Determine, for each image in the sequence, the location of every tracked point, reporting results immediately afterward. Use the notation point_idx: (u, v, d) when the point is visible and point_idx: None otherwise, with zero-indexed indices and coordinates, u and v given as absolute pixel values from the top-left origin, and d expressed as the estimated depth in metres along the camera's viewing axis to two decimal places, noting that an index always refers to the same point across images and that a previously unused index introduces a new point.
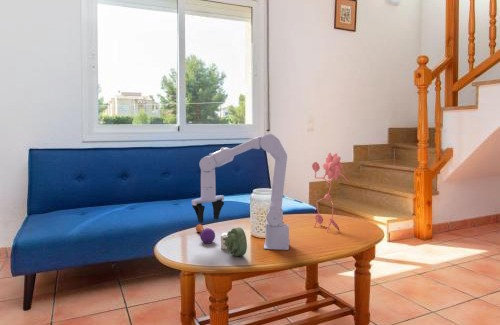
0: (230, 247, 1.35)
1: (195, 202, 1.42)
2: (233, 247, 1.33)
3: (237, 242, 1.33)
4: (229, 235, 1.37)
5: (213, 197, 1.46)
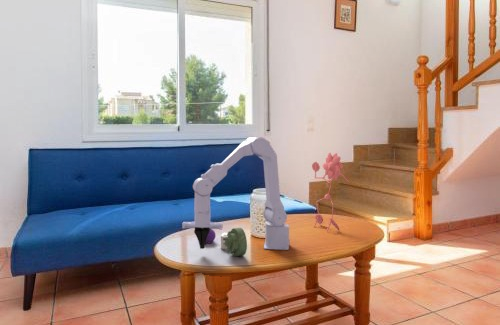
0: (230, 247, 1.35)
1: (183, 225, 1.36)
2: (233, 247, 1.33)
3: (237, 242, 1.33)
4: (229, 235, 1.37)
5: (201, 224, 1.33)
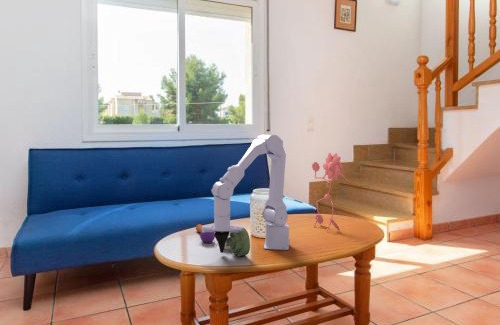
0: (233, 247, 1.35)
1: (203, 229, 1.35)
2: (236, 247, 1.33)
3: (240, 242, 1.33)
4: (232, 235, 1.37)
5: (222, 227, 1.33)
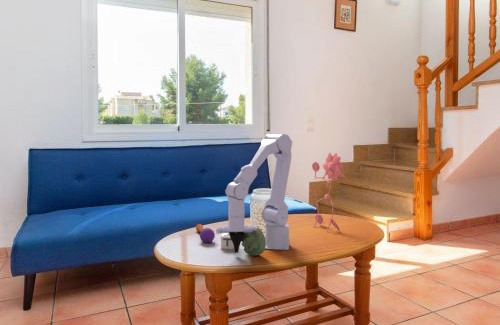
0: (248, 247, 1.35)
1: (217, 230, 1.34)
2: (252, 247, 1.34)
3: (256, 241, 1.33)
4: (245, 235, 1.37)
5: (238, 228, 1.33)
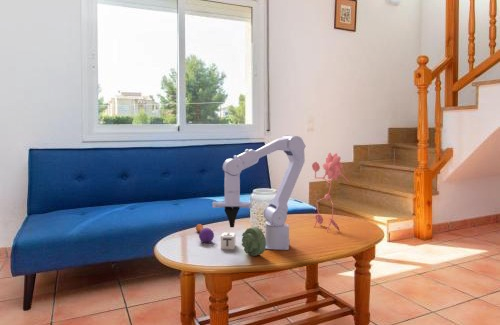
0: (248, 247, 1.35)
1: (213, 204, 1.40)
2: (252, 247, 1.34)
3: (257, 241, 1.33)
4: (246, 235, 1.37)
5: (232, 202, 1.37)
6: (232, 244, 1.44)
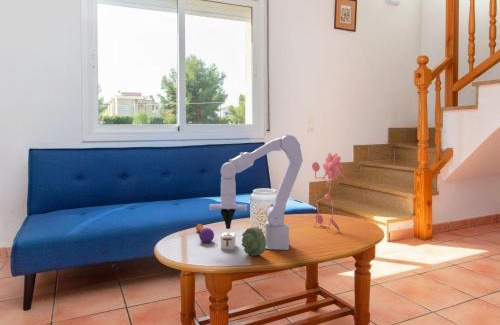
0: (248, 247, 1.35)
1: (210, 207, 1.45)
2: (252, 247, 1.34)
3: (257, 241, 1.33)
4: (246, 235, 1.36)
5: (228, 205, 1.42)
6: (232, 244, 1.44)
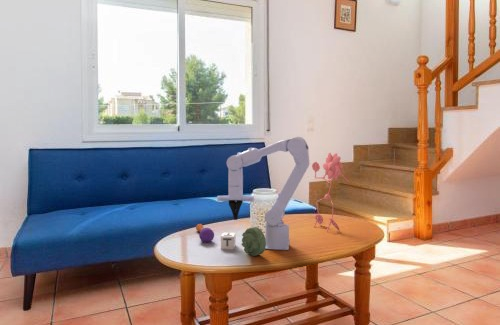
0: (248, 247, 1.35)
1: (218, 198, 1.49)
2: (252, 247, 1.34)
3: (257, 241, 1.33)
4: (246, 235, 1.36)
5: (235, 196, 1.46)
6: (232, 244, 1.44)
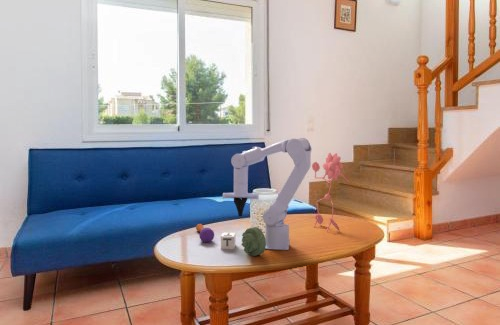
0: (248, 247, 1.35)
1: (223, 195, 1.52)
2: (252, 247, 1.34)
3: (257, 241, 1.33)
4: (246, 235, 1.36)
5: (240, 193, 1.50)
6: (232, 244, 1.44)
